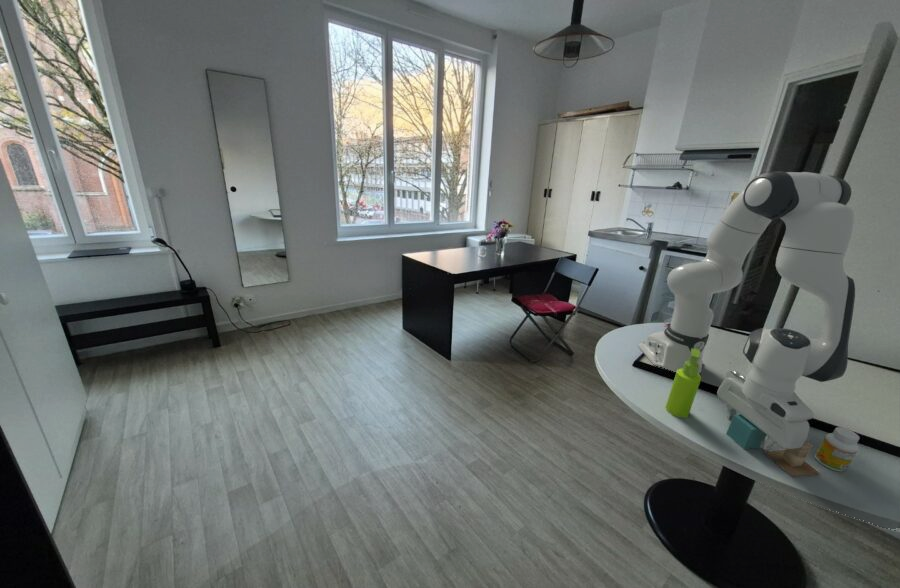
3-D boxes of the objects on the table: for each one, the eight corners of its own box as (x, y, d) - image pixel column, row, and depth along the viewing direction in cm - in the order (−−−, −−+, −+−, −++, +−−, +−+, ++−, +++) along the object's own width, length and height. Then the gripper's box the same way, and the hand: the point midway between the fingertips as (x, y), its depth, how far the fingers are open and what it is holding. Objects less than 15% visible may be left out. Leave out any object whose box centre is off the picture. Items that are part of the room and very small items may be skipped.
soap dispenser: (689, 406, 103) (708, 350, 96) (688, 420, 98) (708, 362, 90) (666, 399, 106) (683, 344, 99) (664, 412, 101) (682, 355, 93)
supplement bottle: (813, 450, 88) (829, 421, 84) (843, 461, 85) (861, 431, 81) (816, 464, 84) (833, 434, 81) (847, 476, 81) (866, 445, 77)
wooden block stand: (764, 453, 87) (774, 432, 85) (788, 450, 88) (799, 430, 85) (792, 477, 81) (804, 455, 78) (818, 474, 82) (831, 452, 79)
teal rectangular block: (726, 433, 93) (733, 415, 91) (743, 432, 94) (751, 413, 91) (743, 448, 88) (752, 429, 86) (761, 447, 89) (770, 427, 87)
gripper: (719, 368, 94) (705, 407, 99) (798, 421, 75) (775, 466, 81) (739, 366, 95) (724, 406, 100) (822, 418, 76) (798, 464, 81)
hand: (747, 433), depth 90 cm, fingers open, 8 cm apart
